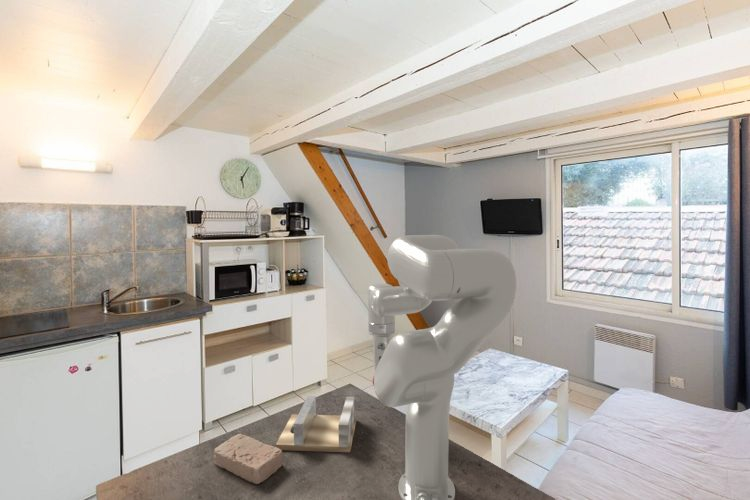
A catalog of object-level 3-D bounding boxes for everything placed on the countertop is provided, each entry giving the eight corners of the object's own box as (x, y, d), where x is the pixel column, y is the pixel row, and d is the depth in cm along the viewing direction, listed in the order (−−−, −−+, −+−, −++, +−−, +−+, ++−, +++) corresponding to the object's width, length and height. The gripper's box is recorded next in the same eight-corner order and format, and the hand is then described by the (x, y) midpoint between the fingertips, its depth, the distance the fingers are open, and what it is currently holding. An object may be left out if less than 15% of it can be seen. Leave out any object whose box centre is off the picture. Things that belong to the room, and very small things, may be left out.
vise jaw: (303, 445, 94) (302, 423, 93) (288, 444, 94) (288, 423, 93) (316, 414, 109) (315, 396, 108) (303, 414, 109) (303, 395, 108)
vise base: (350, 452, 93) (349, 425, 92) (275, 449, 94) (275, 423, 94) (356, 420, 108) (356, 397, 107) (292, 418, 109) (291, 395, 109)
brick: (212, 465, 89) (211, 447, 89) (239, 446, 96) (238, 430, 96) (258, 489, 81) (258, 469, 80) (284, 467, 88) (284, 449, 88)
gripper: (394, 336, 92) (396, 404, 92) (395, 320, 109) (396, 378, 109) (366, 336, 92) (367, 404, 93) (370, 320, 109) (372, 378, 110)
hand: (383, 389), depth 101 cm, fingers closed on onion, 5 cm apart
